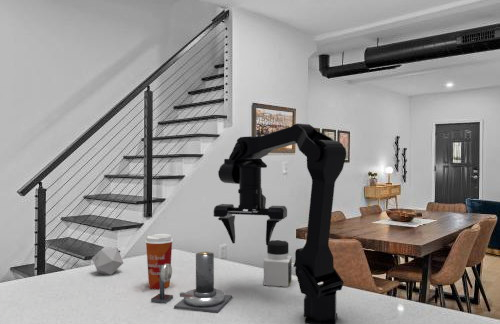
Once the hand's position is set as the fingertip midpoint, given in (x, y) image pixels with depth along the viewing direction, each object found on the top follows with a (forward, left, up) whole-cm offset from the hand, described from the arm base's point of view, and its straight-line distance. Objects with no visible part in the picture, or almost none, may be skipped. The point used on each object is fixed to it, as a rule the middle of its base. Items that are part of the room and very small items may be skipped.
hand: (250, 244), depth 112 cm
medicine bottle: (-5, -11, -13) cm, 18 cm away
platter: (+10, +10, -12) cm, 18 cm away
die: (+48, -7, -13) cm, 50 cm away
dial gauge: (+20, +11, -13) cm, 26 cm away
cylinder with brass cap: (+9, +10, -11) cm, 17 cm away
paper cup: (+26, +1, -13) cm, 29 cm away
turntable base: (+9, +10, -13) cm, 19 cm away
